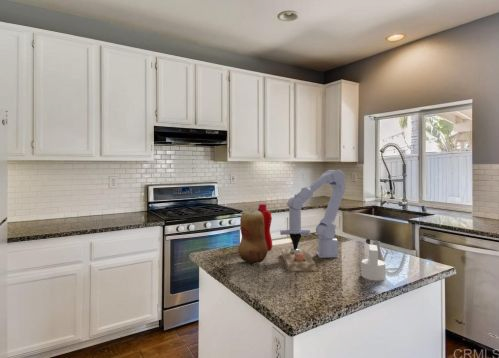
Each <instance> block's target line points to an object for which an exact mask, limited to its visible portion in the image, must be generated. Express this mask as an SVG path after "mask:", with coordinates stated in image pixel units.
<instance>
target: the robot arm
mask: <svg viewBox="0 0 499 358" xmlns="http://www.w3.org/2000/svg"><path fill="white" fill-rule="evenodd" d="M345 180H346V175H345V173H344V171H343V170H341V169H327V170H326V171H325V172H323V173H322V174H321V176H319V177H318V178H317V179H316V180H315V181H314V182H313V183H312V184H311V185H310V186H309V187H307V186H306V187H302V188H301V189H300V191H299V192H298V193H297V194H294V195H293V197H290V198H289V199H288V201H287V202H286V205H287V207H288V208H289V209H288V211H289V212H288V216H289V218H288V219H289V221H288V225H289V226H288V229H280V231H279V234H280V235H281V236H282V235H285V236H286V235H289V237H290V239H291V243H292V246H293V247H292V248H294V249H297V248H298V245H299V243H300V240H301V238H302V235H308V236H309V235H311V230H309V229H302V209H303V206H304V204H305V203H306V202H308V201H309V200H310V199H311V198H312V197H313V196H314V193H315V192H316V191H317V190H319V189H320V188H321V187H322V186H324V185H325V184H329V185H330V186H331V188H332V192H331V195H330V198H329V201H328V204H327V207H326V210H325V213H324V216H323V218H322V219H321V220H319V223H318V224H317V226H316V227H315V232H316V234H317V242H318V244H317V246H318V247H317V250H318V251H317V252H315V254H316V255H317V256H318V257H319V258H327V259H328V258H339V242H338V239H337V237H335V235H336V227H337V226H336V222H335V220H336V218H337V214H338V212H339V208H340V205H341V203H342V200H343V197H344V193H345V190H346V182H345Z"/></svg>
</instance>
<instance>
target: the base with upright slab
mask: <svg viewBox="0 0 499 358" xmlns="http://www.w3.org/2000/svg"><path fill="white" fill-rule="evenodd" d="M368 255H369V256H368V258H363V259H362V260H361V277H362V278H364V279H366V280H370V281H378V282H379V281H383V280H386V262H383V261H381V260H378V249H377V245H374V244H368Z"/></svg>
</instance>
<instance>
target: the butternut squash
mask: <svg viewBox="0 0 499 358" xmlns="http://www.w3.org/2000/svg"><path fill="white" fill-rule="evenodd" d="M239 221H240V223H239V225H240V226H239V227H240V233H241V239H240V242H239V246H238V256H239V257H240V259H241V260H242V261H244V262H246V263H247V264H250V265H255V263H256V264H258V263H259V264H260V263H262V262H263V261H264V260H265V259H266V257H267V254H268V251H269V250H268V248H267V244H266V241H265V233H264V216H263V214H262V213H261V212H260V211H257V210H256V209H255V210H248V211H245V212H244V213H242V215H240V220H239Z"/></svg>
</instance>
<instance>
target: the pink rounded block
mask: <svg viewBox="0 0 499 358" xmlns="http://www.w3.org/2000/svg"><path fill="white" fill-rule="evenodd" d="M295 261H304V254H302V253H296V254H295Z"/></svg>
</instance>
